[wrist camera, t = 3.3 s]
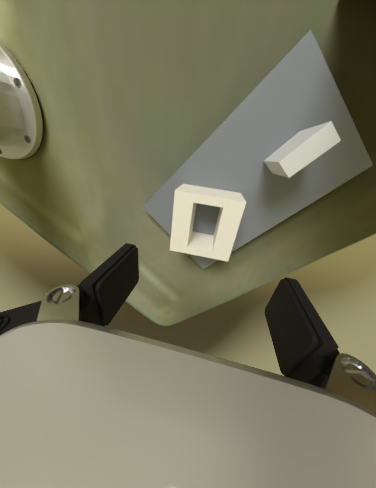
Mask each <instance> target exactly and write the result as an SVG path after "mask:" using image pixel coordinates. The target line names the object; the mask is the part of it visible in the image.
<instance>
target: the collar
mask: <svg viewBox="0 0 376 488" xmlns="http://www.w3.org/2000/svg"><path fill="white" fill-rule="evenodd" d="M197 203H199V204H205V205H211V206H216V207H220V210H219V214H218V219H217V223H216V227H215V232H214V235H209V234H204V233H198V232H193V225H194V218H195V212H196V205H197ZM245 205H246V201H245V199H244V197H243V196H242V194H241V193H238V192H232V191H225V190H219V189H213V188H207V187H201V186H195V185H188V184H182V185H181V186H180V187H178V188H177V189H176V190H175V193H174V205H173V217H172V230H171V242H170V250H172V251H177V252H182V253H187V254H192V255H197V256H202V257H207V258H212V259H217V260H222V261H227V262H228V260H229V257H230V254H231V251H232V247H233V244H234V241H235V238H236V234H237V231H238V228H239V225H240V221H241V218H242V215H243V212H244V208H245Z"/></svg>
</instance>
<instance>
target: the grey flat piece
mask: <svg viewBox="0 0 376 488" xmlns="http://www.w3.org/2000/svg"><path fill="white" fill-rule="evenodd" d="M371 166H373V163H372V161H371V159H370V157H369V155H368V152H367V150H366V148H365V146H364V144H363V142H362V139H361V137H360V135H359V133H358V131H357V129H356V126H355V124H354V122H353V120H352V118H351V115H350V113H349V111H348V109H347V107H346V105H345V102H344V100H343V98H342V96H341V94H340V92H339V89H338V87H337V85H336V83H335V81H334V78H333V76H332V74H331V72H330V70H329V68H328V65H327V63H326V61H325V59H324V57H323V55H322V52H321V50H320V48H319V46H318V44H317V41H316V39H315V37H314V35H313V33H312V31H311V30H310V31H309V32H308V33H307V34H306V35H305V36H304V37H303V38H302V39H301V40H300V41H299V42H298V43H297V44H296V46H295V47H294V48H293V49H292V50H291V51H290V52H289V53H288V54H287V55H286V56H285V57H284V58H283V59H282V60H281V61H280V62H279V64H278V65H277V66H276V67H275V68H274V69H273V70H272V71H271V72H270V73H269V74H268V75H267V76H266V77H265V78H264V79H263V80H262V82H261V83H260V84H259V85H258V86H257V87H256V88H255V89H254V90H253V91H252V92H251V93H250V94H249V95H248V96H247V97H246V98H245V99H244V101H243V102H242V103H241V104H240V105H239V106H238V107H237V108H236V109H235V110H234V111H233V112H232V113H231V114H230V115H229V116H228V117H227V119H226V120H225V121H224V122H223V123H222V124H221V125H220V126H219V127H218V128H217V129H216V130H215V131H214V132H213V133H212V134H211V135H210V136H209V138H208V139H207V140H206V141H205V142H204V143H203V144H202V145H201V146H200V147H199V148H198V149H197V150H196V151H195V152H194V153H193V154H192V156H191V157H190V158H189V159H188V160H187V161H186V162H185V163H184V164H183V165H182V166H181V167H180V168H179V169H178V170H177V171H176V172H175V173H174V175H173V176H172V177H171V178H170V179H169V180H168V181H167V182H166V183H165V184H164V185H163V186H162V187H161V188H160V189H159V190H158V191H157V193H156V194H155V195H154V196H153V197H152V198H151V199H150V200H149V201H148V202H147V203H146V204H145V205H144V206H143V208H144V209H145V210H146V211H147V213H148V214H149V215H150V216H151V217H152V218H153V219H154V220H155V221H156V222H157V223H158V224H159V225H160V226H161V227H162V228H163V229H164V230H165V231H166V232H167V233H168V234H169V235H170V236H171V230H172V217H173V205H174V193H175V190H176V189H177V188H178V187H180V186H181V185H182V184H188V185H195V186H201V187H207V188H213V189H219V190H225V191H232V192H238V193H241V194H242V196H243V197H244V199H245V201H246V205H245V208H244V212H243V215H242V218H241V221H240V225H239V228H238V231H237V234H236V238H235V241H234V244H233V247H232V251H231V252H233V251H234V250H236V249H238V248H239V247H241V246H243V245H244V244H246V243H248V242H249V241H251V240H252V239H254V238H256V237H257V236H259V235H261V234H262V233H264V232H265V231H267V230H269V229H270V228H272V227H274V226H275V225H277V224H278V223H280V222H282V221H283V220H285V219H287V218H288V217H290V216H292V215H293V214H295V213H296V212H298V211H300V210H301V209H303V208H305V207H306V206H308V205H309V204H311V203H313V202H314V201H316V200H318V199H319V198H321V197H322V196H324V195H326V194H327V193H329V192H331V191H332V190H334V189H335V188H337V187H339V186H340V185H342V184H344V183H345V182H347V181H349V180H350V179H352V178H353V177H355V176H357V175H358V174H360V173H362V172H363V171H365V170H366V169H368V168H370V167H371ZM219 210H220V207H216V206H211V205H205V204H199V203H197V205H196V212H195V218H194V225H193V232H198V233H204V234H209V235H214V232H215V227H216V223H217V219H218V214H219ZM189 256H190V257H191V258H192V259H193V260H194V261H195V262H196V263H197V264H198V265H199V266H200V267H201V268H202V269H203V270H204V269H205V268H207V267H208V266H210V265H212V264H213V263H215V262H217V261H218V260H217V259H212V258H207V257H202V256H197V255H192V254H189Z"/></svg>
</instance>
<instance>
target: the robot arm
mask: <svg viewBox="0 0 376 488" xmlns="http://www.w3.org/2000/svg"><path fill="white" fill-rule="evenodd" d="M42 133H43V124H42V116H41V111H40V106H39V103H38V100H37V97H36V94H35V92H34V90H33V88H32V85H31V83H30V81H29V79H28V77H27V76H26V74H25V72H24V71H23V69H22V67H21V66H20V65H19V63H18V62H17V61H16V59H15V58H14V56H13V55H12V54H11V53H10V52H9V51H8V50H7V49H6V48H5V47H4V45H3V44H2V43H1V42H0V156H1V157H4V158H7V159H25V158H28V157H30V156H32V155H33V154H34V153H35V152H36V151H37V149H38V148H39V146H40V143H41V140H42ZM138 280H139V269H138V248H136V246H135V245H132V244H128V243H126V244H125V245H124V246H122V247H121V248H120V249H119V250H118V251H117V252H115V253H114V254H113V255H112V256H111V257H110V258H108V259H107V260H106V261H105V262H104V263H103V264H101V265H100V266H99V267H98V268H97V269H96V270H95V271H93V272H92V273H91V274H90V275H89V276H88V277H86V279H84V280H83V281H82V282H81V283H80V284H79V285H78V286H76V285H72V284H65V285H61V286H57V287H55V288H53V289H51V290H50V291H48V292H47V293H46V294H45V295H44V297H43V299H42V301H39V302H35V303H32V304H29V305H25V306H21V307H18V308H15V309H11V310H7V311H4V312H0V488H376V375H375V373H374V372H373V371H372V370H371V369H370V368H369V367H368V366H366V365H365V364H364V363H363V362H361V361H360V360H358V359H357V358H355V357H353V356H351V355H348V354H343V353H342V354H340V353H339V351H338V350H337V348H338V345H337V344H336V342H335V341H334V339H333V337H332V336H331V334H330V332H329V331H328V329H327V328H326V326H325V324H324V323H323V321H322V320H321V318H320V316H319V315H318V313H317V312H316V310H315V308H314V307H313V305H312V304H311V302H310V300H309V299H308V297H307V296H306V294H305V292H304V291H303V289H302V287H301V286H300V284H299V283H298V281H297V280H295V279H290V278H284V279H282V280H280V282H279V284H278V286H277V288H276V290H275V292H274V294H273V295H272V297H271V299H270V301H269V303H268V305H267V306H266V309H265V316H266V319H267V323H268V327H269V330H270V334H271V338H272V341H273V345H274V349H275V353H276V356H277V360H278V363H279V367H280V370H281V373H282V374H283V375H284V376H282V375H278V374H275V373H271V372H267V371H264V370H261V369H257V368H254V367H250V366H247V365H243V364H239V363H236V362H233V361H229V360H225V359H222V358H218V357H215V356H211V355H208V354H204V353H200V352H197V351H193V350H190V349H186V348H182V347H179V346H175V345H172V344H168V343H164V342H161V341H157V340H153V339H150V338H146V337H142V336H139V335H135V334H131V333H128V332H124V331H120V330H116V329H112V328H108V327H104V326H105V325H108V324H109V323H110V322H111V320H112V319H113V317H114V316H115V315H116V313H117V312H118V310H119V309H120V307H121V306H122V304H123V303H124V302H125V300H126V299H127V297H128V296H129V294H130V293H131V291H132V290H133V289H134V287H135V286H136V284H137V283H138Z"/></svg>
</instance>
